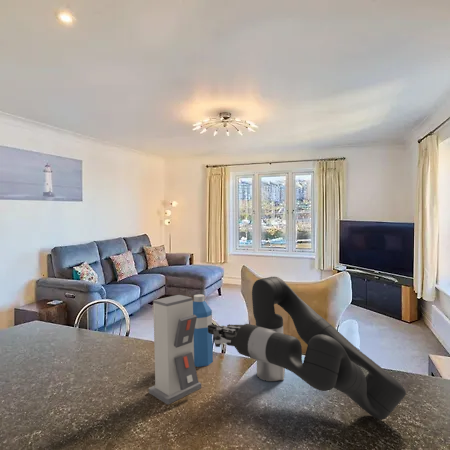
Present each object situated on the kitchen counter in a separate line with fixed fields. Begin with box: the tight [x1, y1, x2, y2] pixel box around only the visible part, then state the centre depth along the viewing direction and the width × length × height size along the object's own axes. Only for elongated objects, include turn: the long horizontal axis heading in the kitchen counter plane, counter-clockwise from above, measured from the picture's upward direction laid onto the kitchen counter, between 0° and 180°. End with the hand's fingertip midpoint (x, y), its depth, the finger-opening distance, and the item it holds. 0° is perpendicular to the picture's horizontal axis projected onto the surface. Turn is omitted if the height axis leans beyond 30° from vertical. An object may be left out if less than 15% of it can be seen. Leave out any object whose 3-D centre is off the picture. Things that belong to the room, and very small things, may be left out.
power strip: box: [148, 294, 202, 405], centre depth 104 cm, size 10×13×29 cm
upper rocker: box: [174, 315, 197, 348], centre depth 100 cm, size 2×6×9 cm, turn 136°
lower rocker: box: [174, 352, 199, 390], centre depth 100 cm, size 1×6×9 cm, turn 136°
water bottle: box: [193, 293, 214, 368], centre depth 125 cm, size 9×9×25 cm
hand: (209, 328), depth 92 cm, fingers closed
